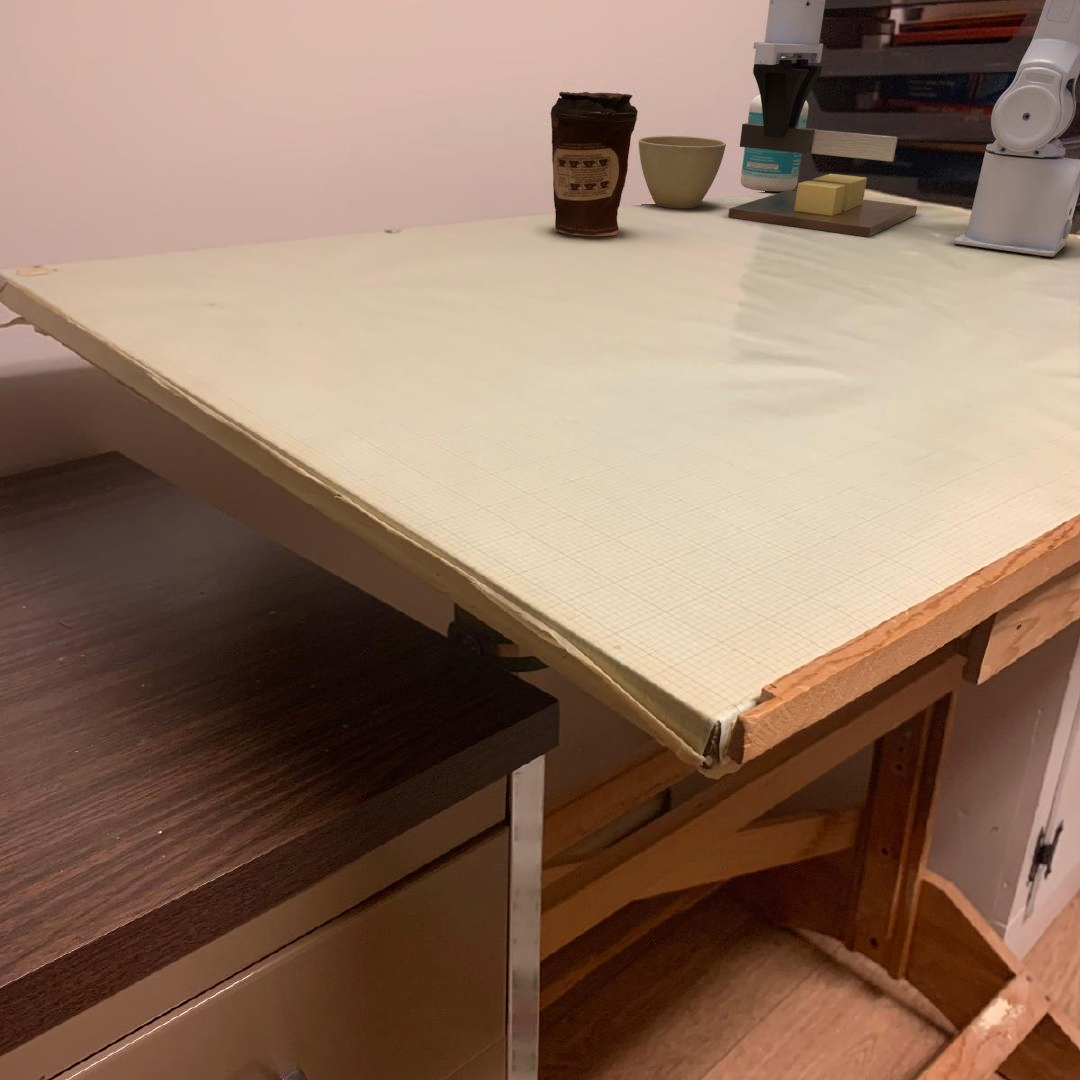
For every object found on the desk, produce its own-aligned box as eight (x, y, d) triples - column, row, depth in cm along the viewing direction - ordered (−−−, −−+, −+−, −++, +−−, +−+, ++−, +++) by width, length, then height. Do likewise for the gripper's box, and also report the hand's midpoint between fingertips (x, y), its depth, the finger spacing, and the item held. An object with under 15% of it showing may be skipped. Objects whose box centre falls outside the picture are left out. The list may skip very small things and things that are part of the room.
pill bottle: (801, 194, 128) (819, 79, 121) (744, 191, 128) (759, 76, 121) (789, 185, 134) (806, 76, 128) (735, 183, 134) (749, 73, 128)
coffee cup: (622, 244, 96) (632, 97, 90) (538, 237, 97) (543, 93, 91) (632, 228, 103) (643, 92, 97) (554, 222, 105) (560, 87, 98)
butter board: (915, 214, 117) (917, 206, 116) (868, 237, 103) (870, 227, 103) (786, 198, 124) (788, 190, 124) (727, 217, 111) (729, 208, 110)
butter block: (862, 204, 116) (867, 177, 114) (845, 211, 111) (850, 183, 110) (826, 200, 118) (830, 173, 116) (808, 206, 113) (812, 178, 112)
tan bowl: (630, 196, 121) (635, 134, 118) (712, 199, 121) (719, 137, 118) (637, 211, 112) (642, 143, 109) (724, 214, 113) (732, 147, 109)
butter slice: (841, 213, 110) (846, 184, 109) (832, 216, 108) (837, 187, 106) (803, 208, 112) (807, 180, 111) (793, 211, 110) (798, 183, 109)
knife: (895, 160, 105) (900, 136, 104) (890, 162, 103) (894, 137, 102) (746, 145, 113) (749, 122, 112) (739, 146, 111) (742, 123, 110)
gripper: (786, -3, 111) (769, 128, 117) (734, -8, 100) (718, 137, 106) (848, -1, 107) (827, 133, 114) (801, -6, 96) (780, 143, 103)
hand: (778, 136), depth 110 cm, fingers closed on knife, 2 cm apart
